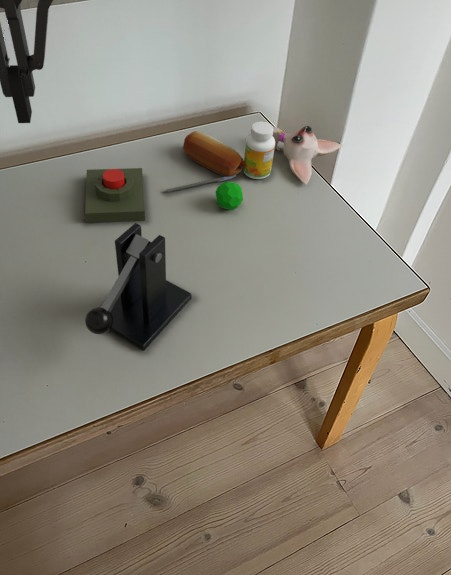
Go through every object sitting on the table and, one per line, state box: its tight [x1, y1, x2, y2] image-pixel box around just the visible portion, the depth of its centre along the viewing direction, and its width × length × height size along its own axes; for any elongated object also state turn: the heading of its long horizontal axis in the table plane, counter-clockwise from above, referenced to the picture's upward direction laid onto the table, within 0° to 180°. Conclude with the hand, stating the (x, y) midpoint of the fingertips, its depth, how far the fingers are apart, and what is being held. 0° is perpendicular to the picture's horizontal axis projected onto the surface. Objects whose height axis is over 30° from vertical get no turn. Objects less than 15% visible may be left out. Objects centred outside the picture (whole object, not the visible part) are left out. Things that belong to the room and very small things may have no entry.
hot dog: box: [182, 130, 245, 177], centre depth 110 cm, size 5×13×5 cm
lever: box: [84, 234, 152, 335], centre depth 76 cm, size 14×4×4 cm
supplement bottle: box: [242, 121, 276, 180], centre depth 107 cm, size 5×5×10 cm
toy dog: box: [272, 125, 344, 186], centre depth 112 cm, size 15×8×15 cm
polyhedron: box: [215, 180, 244, 211], centre depth 102 cm, size 5×5×5 cm
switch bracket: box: [108, 222, 193, 351], centre depth 81 cm, size 12×9×15 cm
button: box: [103, 168, 125, 189], centre depth 100 cm, size 4×4×2 cm
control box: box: [84, 167, 146, 224], centre depth 101 cm, size 12×10×4 cm
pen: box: [166, 174, 238, 193], centre depth 107 cm, size 1×1×14 cm
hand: (25, 117), depth 75 cm, fingers closed
